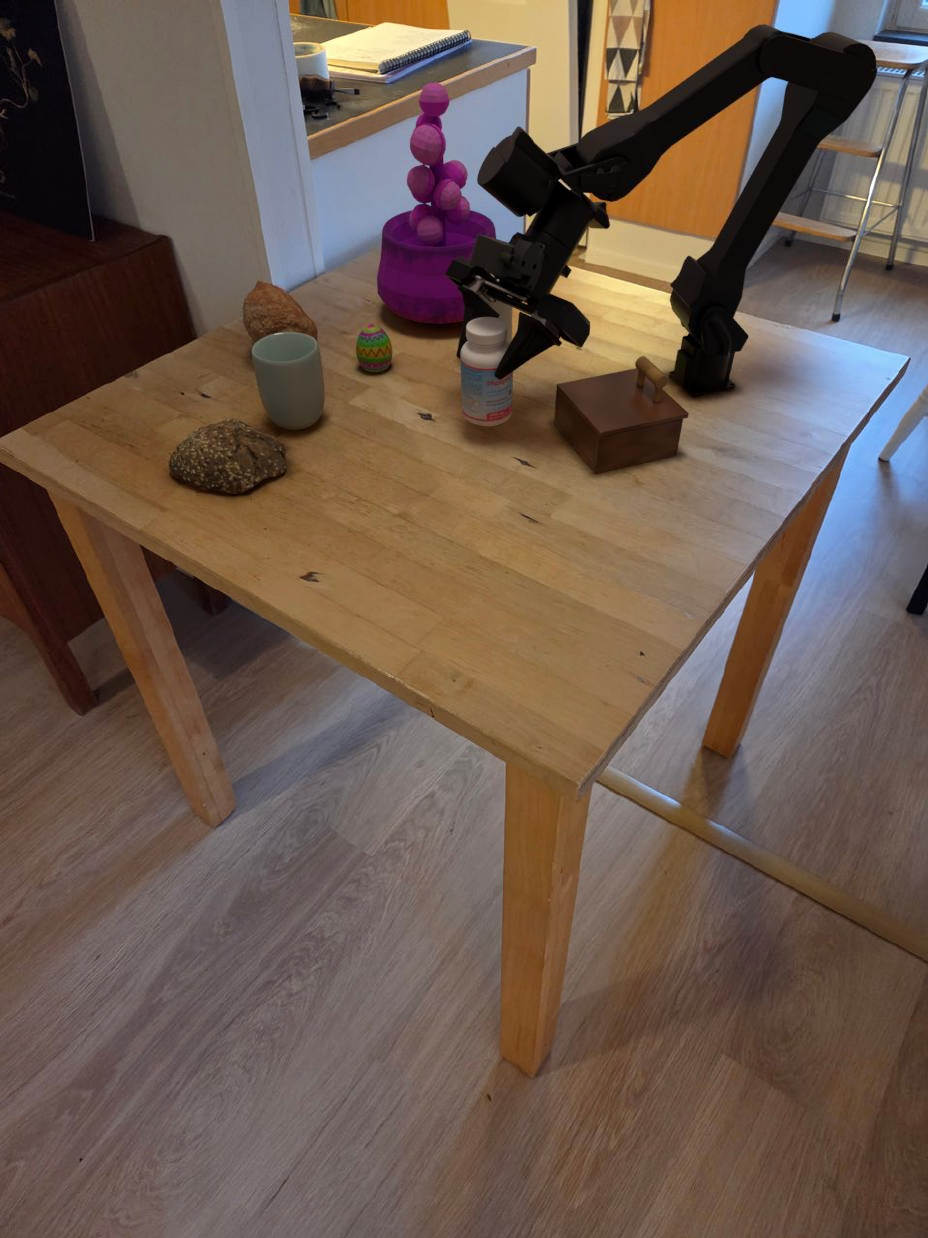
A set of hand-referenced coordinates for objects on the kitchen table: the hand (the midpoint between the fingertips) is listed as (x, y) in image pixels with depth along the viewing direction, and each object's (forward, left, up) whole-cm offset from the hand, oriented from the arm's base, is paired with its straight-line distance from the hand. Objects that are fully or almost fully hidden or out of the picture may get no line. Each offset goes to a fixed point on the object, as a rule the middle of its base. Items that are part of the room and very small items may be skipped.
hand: (477, 368), depth 97 cm
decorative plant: (-7, -35, -9) cm, 36 cm away
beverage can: (-8, -18, -9) cm, 21 cm away
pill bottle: (-1, 0, -7) cm, 7 cm away
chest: (-15, +6, -9) cm, 19 cm away
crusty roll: (+18, -30, -9) cm, 36 cm away
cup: (+20, -12, -9) cm, 25 cm away
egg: (+7, -22, -9) cm, 24 cm away
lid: (-15, +6, -4) cm, 17 cm away
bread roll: (+29, -5, -9) cm, 31 cm away
